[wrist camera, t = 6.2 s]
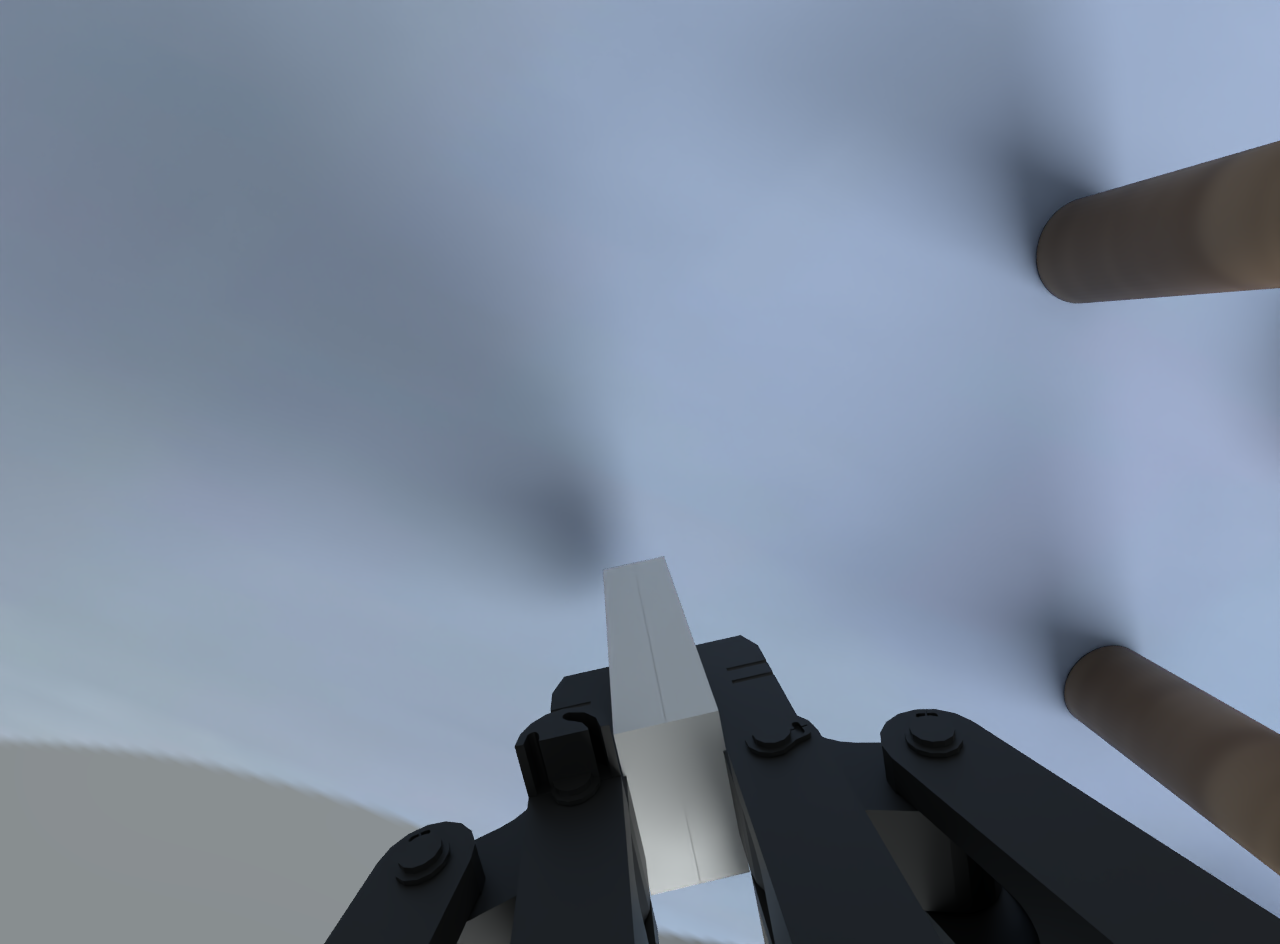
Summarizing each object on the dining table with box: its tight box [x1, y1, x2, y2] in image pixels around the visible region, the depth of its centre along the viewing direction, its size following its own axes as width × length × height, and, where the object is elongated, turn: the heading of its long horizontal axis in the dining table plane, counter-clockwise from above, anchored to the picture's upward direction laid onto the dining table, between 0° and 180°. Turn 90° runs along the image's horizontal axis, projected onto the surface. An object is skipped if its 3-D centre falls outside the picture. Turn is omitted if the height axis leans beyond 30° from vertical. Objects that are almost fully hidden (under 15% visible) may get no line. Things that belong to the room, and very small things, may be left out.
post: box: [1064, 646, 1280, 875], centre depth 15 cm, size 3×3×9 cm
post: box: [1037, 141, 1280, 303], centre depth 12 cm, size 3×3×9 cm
